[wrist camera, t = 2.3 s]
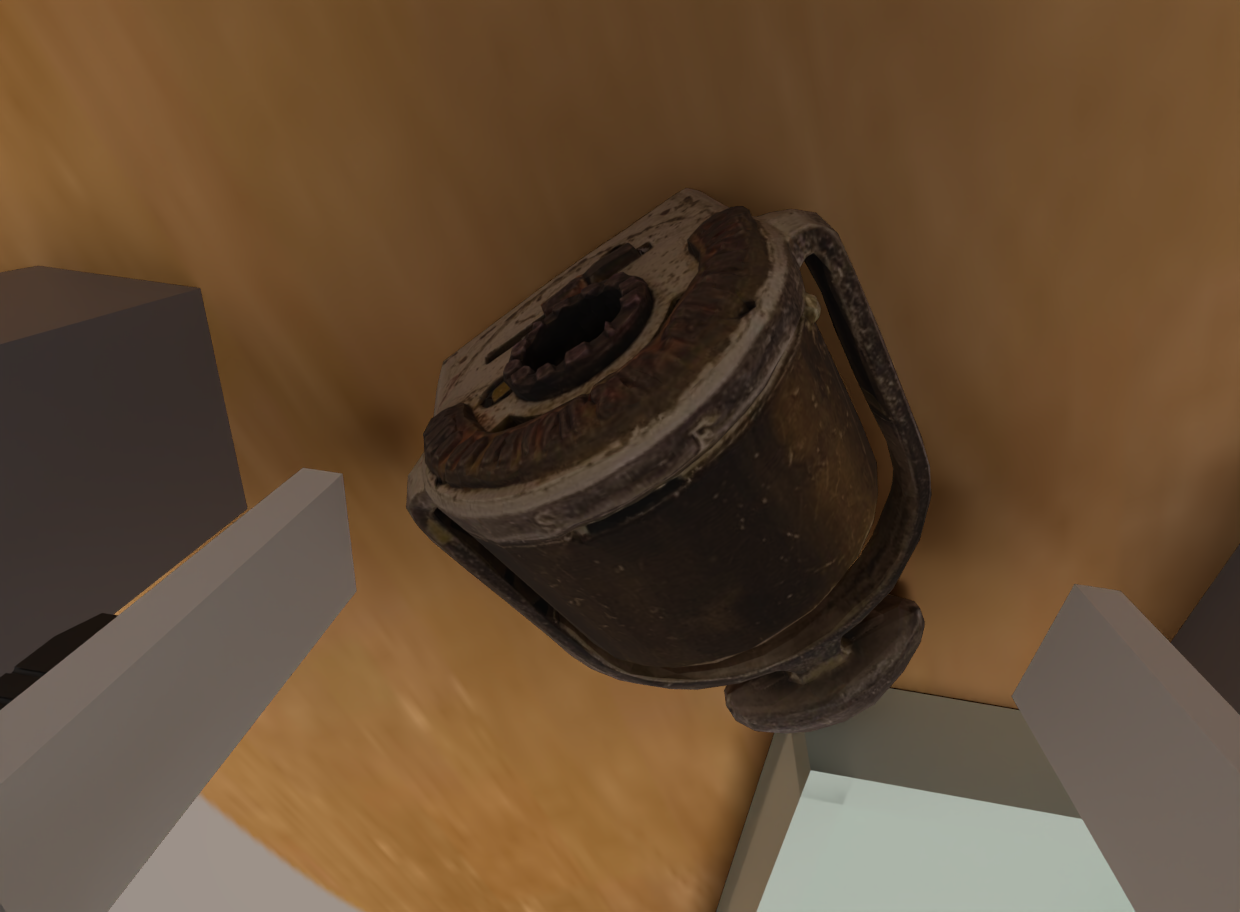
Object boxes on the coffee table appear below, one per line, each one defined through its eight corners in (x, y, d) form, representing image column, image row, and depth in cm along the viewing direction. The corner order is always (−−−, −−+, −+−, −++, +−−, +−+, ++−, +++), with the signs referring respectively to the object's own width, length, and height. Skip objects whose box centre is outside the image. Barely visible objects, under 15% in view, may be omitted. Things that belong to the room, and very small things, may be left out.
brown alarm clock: (1217, 48, 6) (187, 257, 6) (1109, 932, 10) (518, 1059, 10) (870, 153, 13) (394, 250, 13) (893, 656, 17) (539, 730, 17)
